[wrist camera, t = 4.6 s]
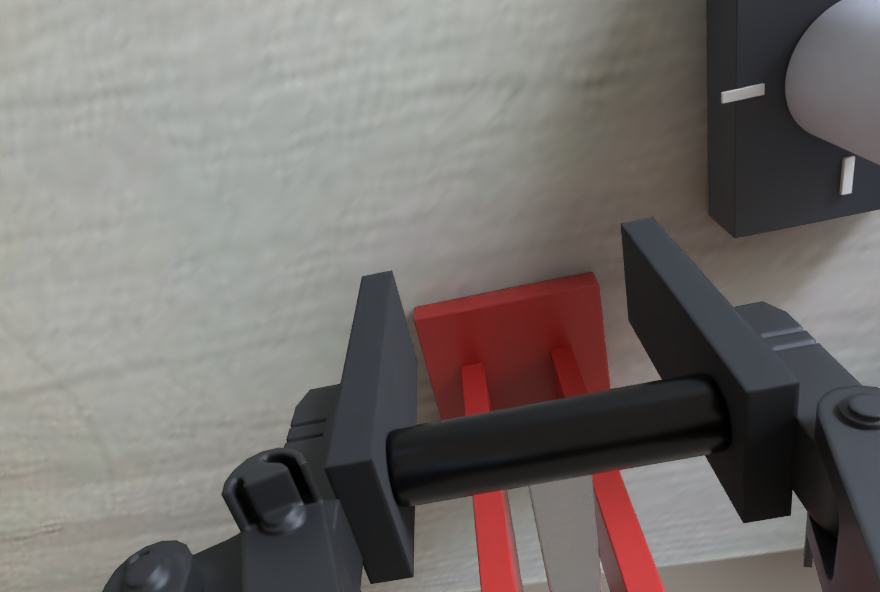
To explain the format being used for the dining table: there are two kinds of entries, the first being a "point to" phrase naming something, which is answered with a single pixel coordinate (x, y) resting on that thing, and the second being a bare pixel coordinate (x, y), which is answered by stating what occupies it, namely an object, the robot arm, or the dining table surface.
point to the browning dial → (839, 78)
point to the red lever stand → (526, 382)
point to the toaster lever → (560, 458)
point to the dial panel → (771, 127)
